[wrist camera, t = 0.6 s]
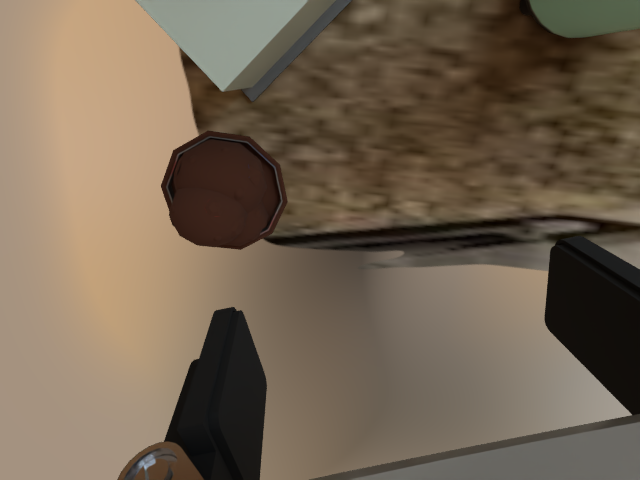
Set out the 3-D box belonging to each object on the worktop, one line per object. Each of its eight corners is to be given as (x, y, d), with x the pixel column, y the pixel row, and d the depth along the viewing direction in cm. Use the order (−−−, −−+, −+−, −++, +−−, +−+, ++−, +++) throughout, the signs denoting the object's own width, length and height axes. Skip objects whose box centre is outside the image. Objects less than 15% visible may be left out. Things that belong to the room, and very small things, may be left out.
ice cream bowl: (282, 220, 44) (279, 282, 31) (187, 209, 43) (139, 269, 29) (293, 130, 40) (295, 155, 27) (188, 114, 39) (133, 132, 25)
